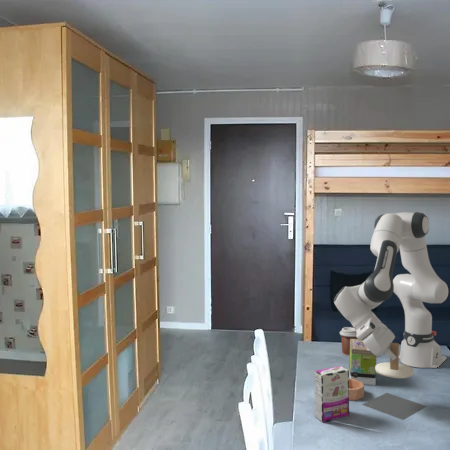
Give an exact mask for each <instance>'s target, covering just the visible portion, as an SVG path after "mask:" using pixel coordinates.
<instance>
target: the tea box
mask: <svg viewBox="0 0 450 450" xmlns="http://www.w3.org/2000/svg"><path fill="white" fill-rule="evenodd" d="M377 357H378V356H376V355H374V354H373V353H372V352H371V351H370V350H369V349H368V348H367V347H366V346H365V345H364V343H363V342H362V340H361V341H359V340H358V339H350V356H348V358H349V361H348V363H349V364H348V370H349V378H351V379H355V380H358V381H361V382H362V383H363V385H364V386H365V385H366V386H376V380H377V378H376V377H377V372H376V371H375V366H376V365H377Z"/></svg>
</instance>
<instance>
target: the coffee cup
mask: <svg viewBox="0 0 450 450" xmlns="http://www.w3.org/2000/svg"><path fill="white" fill-rule="evenodd" d="M356 334H357V333H356V330H355V329H354V327H353V326H350V327H349V326H344V327H343V328H341V330H340V331H339V335H340V337H341V353H342V355H343V356H345V357H349V356H350V339H358V338H357V337H356Z"/></svg>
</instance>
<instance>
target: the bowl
mask: <svg viewBox="0 0 450 450" xmlns="http://www.w3.org/2000/svg"><path fill="white" fill-rule="evenodd" d="M364 397H365V385H363V383H362V382H361V381H358V380H355V379H351V378H350V377H349V401H358V400H360V399H362V398H364Z"/></svg>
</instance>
